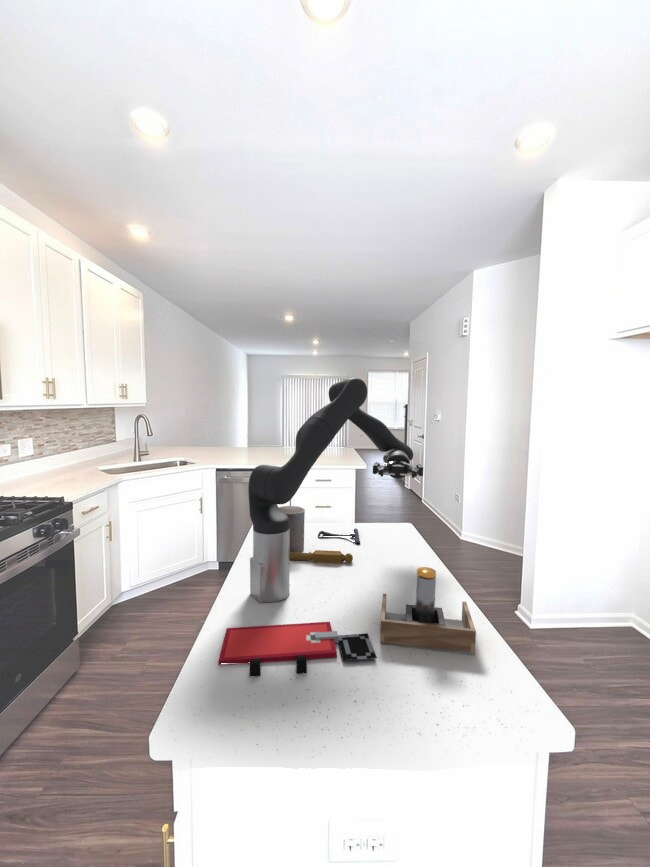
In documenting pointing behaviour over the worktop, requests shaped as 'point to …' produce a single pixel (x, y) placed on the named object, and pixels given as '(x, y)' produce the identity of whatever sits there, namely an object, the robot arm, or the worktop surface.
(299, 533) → the pillar candle
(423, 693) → the worktop surface
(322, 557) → the tap handle
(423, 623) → the socket box
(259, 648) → the red board with handle
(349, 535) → the bracket
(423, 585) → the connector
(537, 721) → the worktop surface
